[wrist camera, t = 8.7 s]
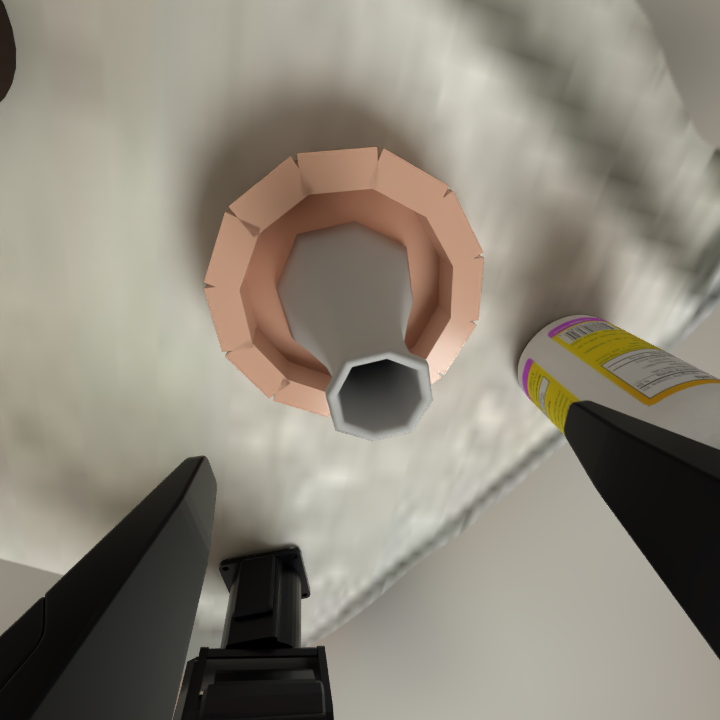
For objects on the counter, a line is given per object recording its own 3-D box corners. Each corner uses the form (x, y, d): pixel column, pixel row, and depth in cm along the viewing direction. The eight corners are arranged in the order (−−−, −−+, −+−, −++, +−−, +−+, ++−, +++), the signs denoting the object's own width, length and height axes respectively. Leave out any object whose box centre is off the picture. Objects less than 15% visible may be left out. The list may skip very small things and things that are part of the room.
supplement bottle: (555, 412, 27) (736, 591, 16) (493, 373, 24) (654, 553, 13) (628, 340, 25) (899, 490, 13) (567, 291, 22) (837, 421, 11)
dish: (453, 372, 24) (471, 398, 21) (251, 399, 23) (245, 430, 20) (466, 140, 18) (494, 137, 15) (189, 163, 16) (167, 163, 14)
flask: (278, 210, 17) (250, 261, 8) (425, 228, 18) (536, 289, 10) (274, 349, 20) (252, 490, 12) (400, 356, 22) (464, 488, 13)
